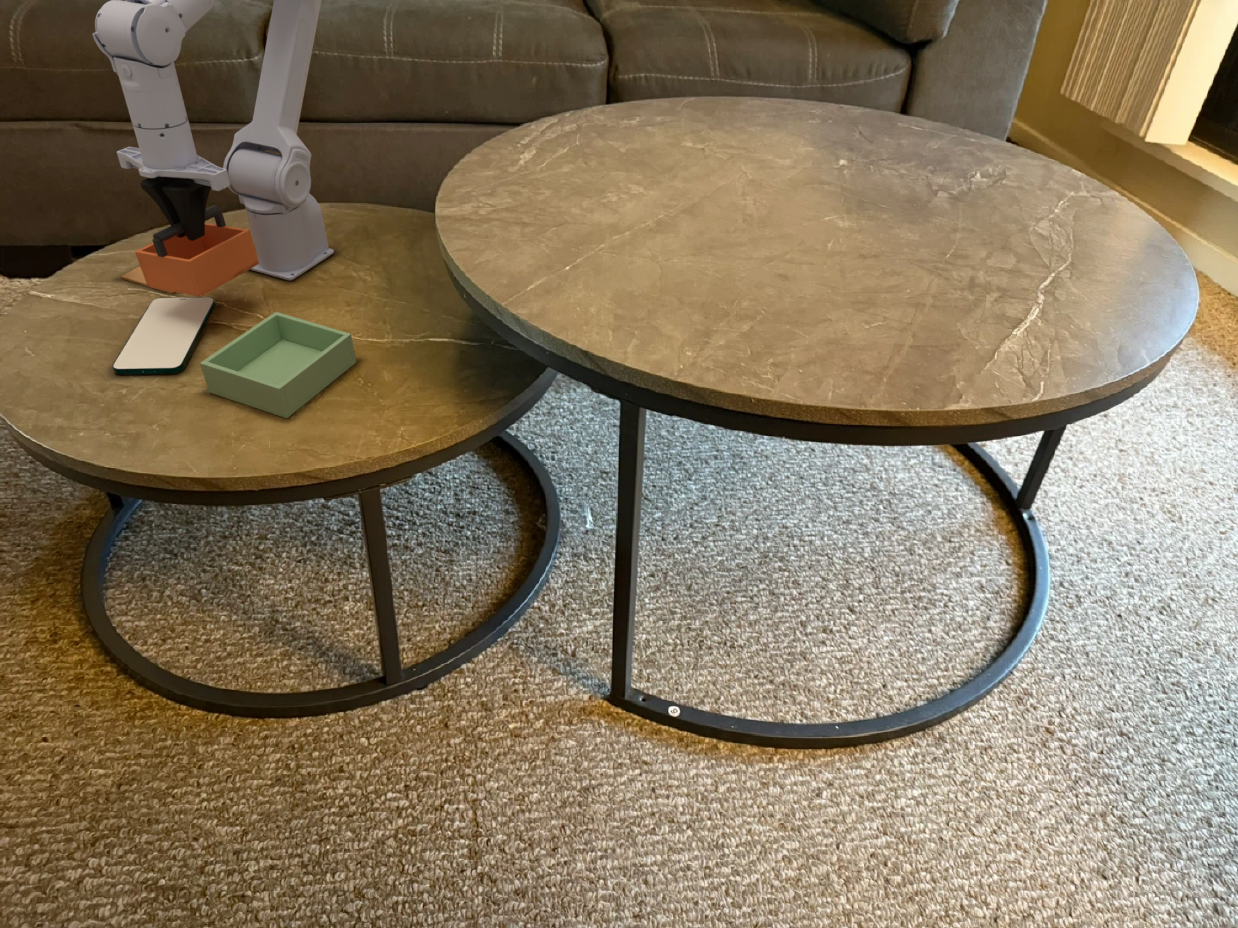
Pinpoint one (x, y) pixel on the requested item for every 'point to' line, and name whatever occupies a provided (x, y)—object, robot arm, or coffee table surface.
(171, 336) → the smartphone
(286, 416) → the green tray
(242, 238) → the terracotta tote
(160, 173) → the robot arm
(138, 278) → the cork pad
